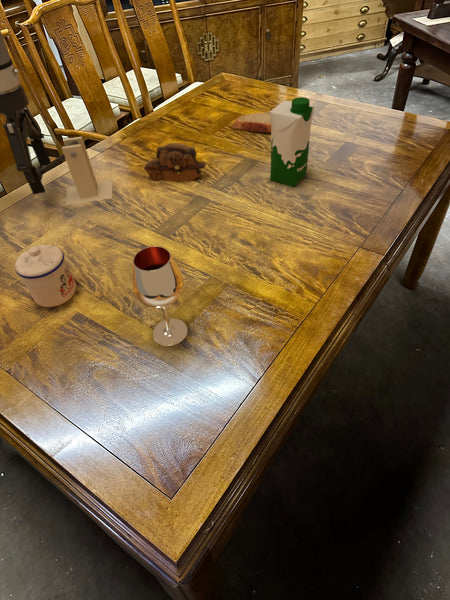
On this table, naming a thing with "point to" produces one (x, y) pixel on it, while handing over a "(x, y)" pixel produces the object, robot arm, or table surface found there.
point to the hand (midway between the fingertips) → (42, 178)
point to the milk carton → (290, 140)
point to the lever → (52, 163)
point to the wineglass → (159, 290)
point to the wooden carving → (175, 163)
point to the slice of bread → (254, 122)
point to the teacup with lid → (46, 275)
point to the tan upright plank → (83, 175)
